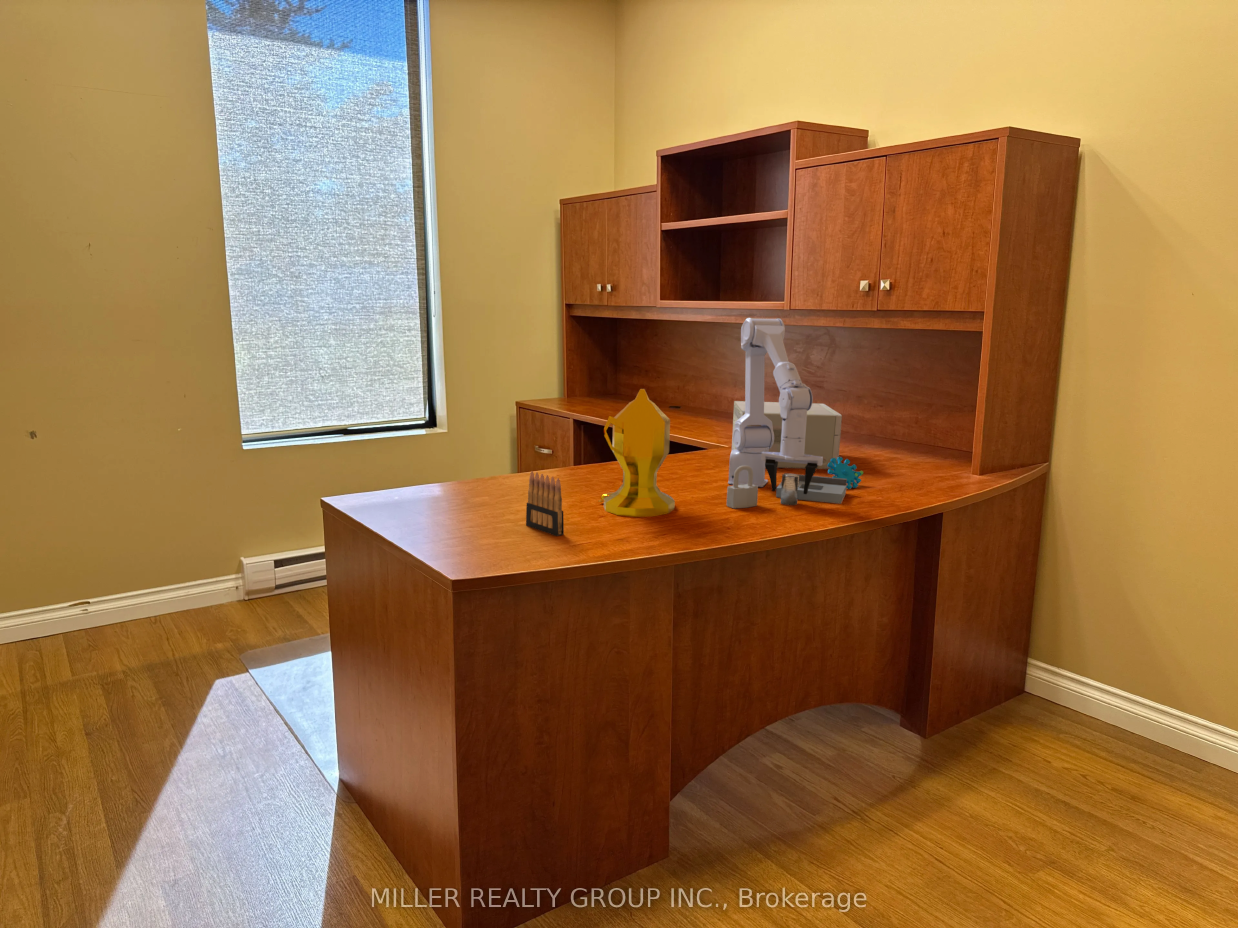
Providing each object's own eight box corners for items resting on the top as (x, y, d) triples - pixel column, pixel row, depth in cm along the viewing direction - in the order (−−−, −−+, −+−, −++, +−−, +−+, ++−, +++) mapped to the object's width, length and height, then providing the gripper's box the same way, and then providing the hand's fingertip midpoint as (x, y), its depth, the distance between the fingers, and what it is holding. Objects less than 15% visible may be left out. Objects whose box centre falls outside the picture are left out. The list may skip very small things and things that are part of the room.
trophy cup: (575, 511, 196) (576, 389, 190) (634, 492, 216) (637, 382, 210) (638, 524, 186) (642, 396, 181) (694, 503, 206) (699, 388, 200)
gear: (835, 484, 223) (825, 453, 229) (823, 496, 228) (814, 465, 233) (870, 488, 227) (860, 457, 232) (858, 499, 231) (848, 469, 237)
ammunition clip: (525, 525, 183) (525, 470, 181) (532, 523, 184) (532, 469, 182) (557, 536, 175) (557, 479, 173) (563, 534, 177) (564, 478, 174)
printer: (837, 470, 251) (842, 415, 248) (740, 467, 252) (743, 412, 249) (819, 453, 278) (823, 403, 275) (731, 450, 279) (734, 400, 276)
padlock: (748, 503, 208) (751, 462, 206) (758, 506, 205) (761, 466, 203) (724, 505, 205) (726, 465, 203) (734, 509, 201) (736, 468, 199)
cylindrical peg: (779, 504, 208) (781, 476, 206) (781, 500, 211) (783, 473, 210) (795, 505, 206) (797, 477, 205) (798, 502, 210) (800, 474, 209)
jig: (776, 497, 215) (776, 481, 214) (783, 487, 226) (784, 473, 225) (841, 503, 209) (842, 488, 209) (845, 493, 220) (846, 478, 220)
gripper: (760, 436, 204) (757, 492, 207) (821, 441, 199) (817, 498, 202) (765, 432, 211) (762, 486, 213) (825, 437, 206) (821, 492, 209)
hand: (789, 491), depth 208 cm, fingers open, 7 cm apart
